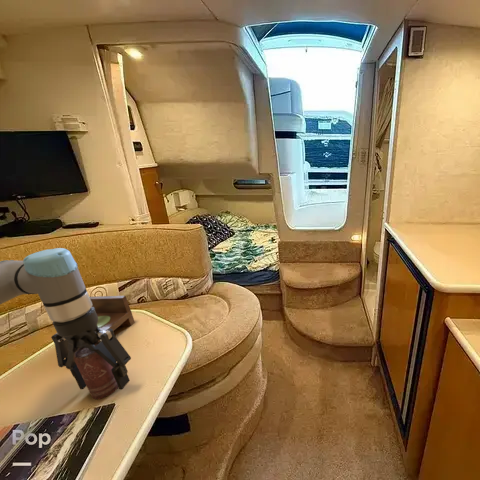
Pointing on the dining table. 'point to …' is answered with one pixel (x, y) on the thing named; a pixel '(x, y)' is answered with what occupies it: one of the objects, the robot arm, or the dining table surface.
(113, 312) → the green-ringed wooden stand
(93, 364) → the can
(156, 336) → the dining table surface
